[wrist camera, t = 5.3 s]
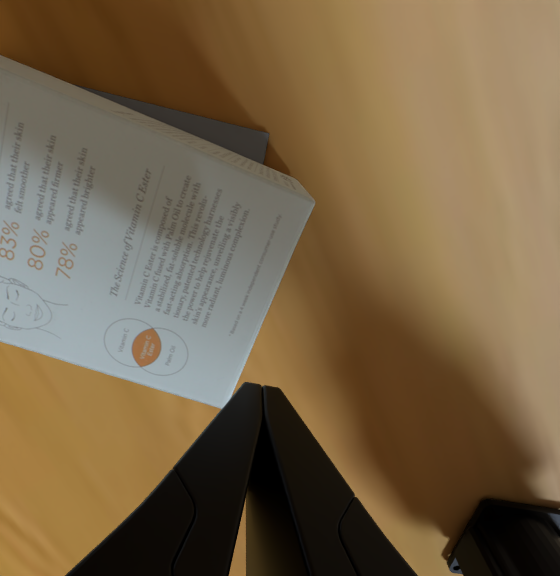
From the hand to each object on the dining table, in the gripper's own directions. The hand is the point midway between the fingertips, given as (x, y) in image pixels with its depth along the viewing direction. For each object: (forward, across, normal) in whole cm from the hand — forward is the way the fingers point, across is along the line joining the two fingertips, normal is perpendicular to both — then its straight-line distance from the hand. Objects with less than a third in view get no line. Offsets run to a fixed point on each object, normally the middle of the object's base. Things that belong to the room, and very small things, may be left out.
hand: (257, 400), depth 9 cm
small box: (+7, 0, 0) cm, 7 cm away
